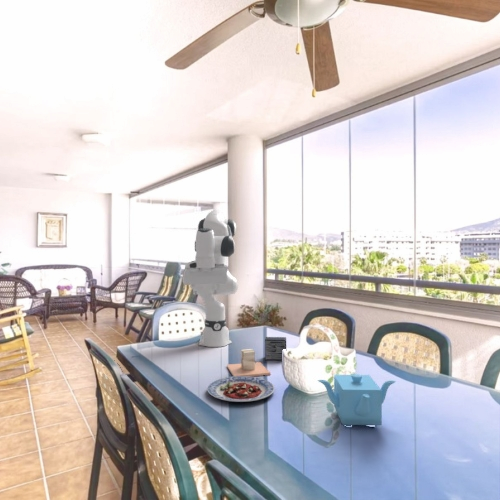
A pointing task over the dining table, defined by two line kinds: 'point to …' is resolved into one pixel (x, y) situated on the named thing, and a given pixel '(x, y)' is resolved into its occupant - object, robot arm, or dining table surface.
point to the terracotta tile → (238, 371)
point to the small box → (274, 348)
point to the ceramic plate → (241, 388)
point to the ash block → (247, 359)
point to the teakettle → (357, 399)
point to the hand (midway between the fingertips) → (205, 294)
